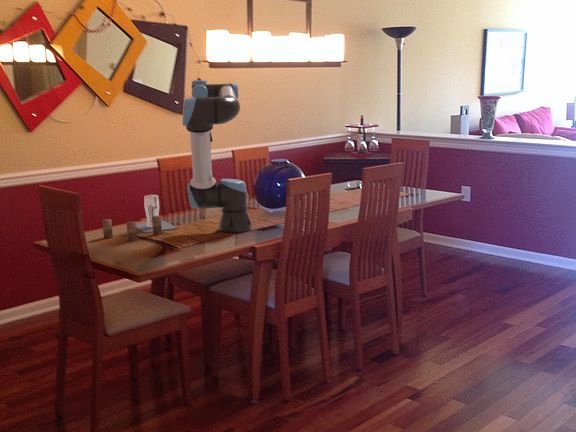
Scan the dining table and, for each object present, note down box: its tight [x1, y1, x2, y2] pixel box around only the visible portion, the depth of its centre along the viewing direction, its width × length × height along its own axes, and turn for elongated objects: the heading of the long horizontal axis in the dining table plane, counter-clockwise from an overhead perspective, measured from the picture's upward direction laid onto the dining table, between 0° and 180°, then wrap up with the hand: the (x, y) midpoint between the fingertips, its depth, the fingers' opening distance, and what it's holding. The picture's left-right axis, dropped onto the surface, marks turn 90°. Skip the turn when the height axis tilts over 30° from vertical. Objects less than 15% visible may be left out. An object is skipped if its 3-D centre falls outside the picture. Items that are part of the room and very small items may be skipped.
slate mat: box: [136, 220, 179, 234], centre depth 338 cm, size 20×16×1 cm
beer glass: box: [143, 194, 160, 228], centre depth 335 cm, size 7×7×15 cm
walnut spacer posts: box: [102, 215, 163, 242], centre depth 319 cm, size 16×25×8 cm, turn 119°
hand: (203, 154), depth 353 cm, fingers open, 13 cm apart
